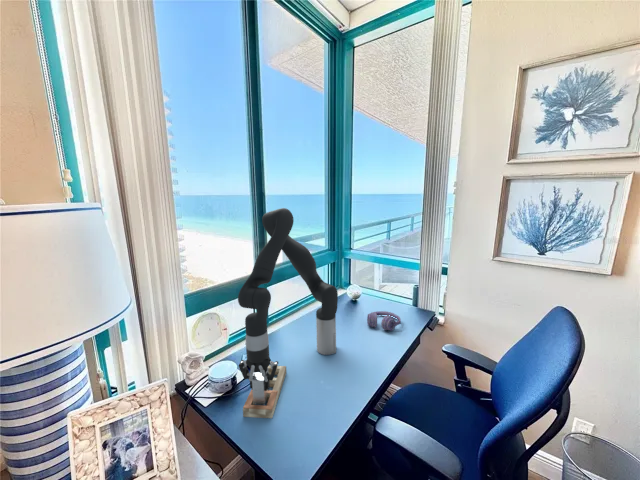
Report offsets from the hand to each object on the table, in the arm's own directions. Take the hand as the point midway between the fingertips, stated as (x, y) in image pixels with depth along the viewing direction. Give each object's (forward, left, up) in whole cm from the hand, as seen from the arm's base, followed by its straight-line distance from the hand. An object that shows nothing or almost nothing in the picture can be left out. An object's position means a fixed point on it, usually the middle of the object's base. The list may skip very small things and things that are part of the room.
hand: (260, 388), depth 91 cm
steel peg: (0, 0, -4) cm, 4 cm away
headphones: (-53, -64, -8) cm, 83 cm away
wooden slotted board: (0, -7, -7) cm, 10 cm away
